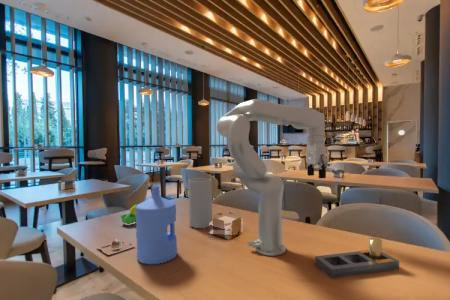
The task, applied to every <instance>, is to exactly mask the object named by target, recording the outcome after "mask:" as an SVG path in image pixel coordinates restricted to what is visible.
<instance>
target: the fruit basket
mask: <svg viewBox="0 0 450 300" xmlns="http://www.w3.org/2000/svg"><path fill="white" fill-rule="evenodd" d="M138 204H139V203H138ZM138 204H136V203H135V204H134V205H133V206H132V207H130V209H129V212H130V213H126V214H123V215H120V219H121V221H122V223H123V222H124V223H127V224H130V223H133V222H136V206H137V205H138Z"/></svg>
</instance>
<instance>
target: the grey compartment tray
mask: <svg viewBox="0 0 450 300" xmlns="http://www.w3.org/2000/svg"><path fill="white" fill-rule="evenodd" d="M314 265H315V266H316V267H317V268H318V269H320V271H322V272H324V274H326V275H327V276H328V277H329V278H330V279H332V280H333V279H339V278H347V277H353V276H362V275H368V274H369V275H370V274H375V273H382V272H388V271H389V272H390V271H391V272H392V271H397V270H400V260H399V259H396V258H395V257H393V256H391V255H389V254H387V253H385V252H383V251H382V260H375V261H374V260H373V259H371V258H369V249H364V250H358V251H350V252H341V253H334V254H332V253H331V254H324V255H317V256H314Z"/></svg>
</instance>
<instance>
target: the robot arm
mask: <svg viewBox="0 0 450 300" xmlns="http://www.w3.org/2000/svg"><path fill="white" fill-rule="evenodd" d="M250 122H262V123H268V124H271V125H276V126H290V125H291V126H292V127H293V129H297V130H305V129H306V130H307V131H306V133H307V137H306V138H307V142H306V149H305V162H306V168H307V176H308V177H309V176H312V177H313V176H315V166H318V168H319V169H318V179H326V178H327V167H328V163H329V159H328V158H327V156H326V155H327V154H326V152H327V150H326V144H325V143H326V142H325V141H326V140H325V134H326V132H325V128H326V127H325V124H326V123H325V114H324V113H322V112H319V111H318V110H317V109H313V108H309V107H306V106H305V107H304V106H299V105H287V104H280V103H277V102H271V101H267V100H264V99H259V98H254V99H249V100H245V101H243V102H240V103H239V104H238V105H237V106H235V107H234V108H233V109H231V110H229V111H228V112H227V113H225V114H224V115H223V116H221V117H220V119H219V120H218V121H217V124H216V130H217V132H218V134H219V135H220V136H221V137H223V138H228V140H227V148H228V152H229V155H230V156H231V158H232V159H233V162H232V170H233V173H234V174H235V176H236V178H238V179H239V181H240V182H241V183H242V184H243V185H244V187H246V188H247V190H249V191H250V192H251V193H254V194H255V195H256V194H257V195H259V196H261V197H260V200H259V202H258V206H257V207H258V237H256V239H255V240H248V241H247V246H248V247H252V248H254V250H255V251H256V252H257V253H259V254H260V255H262V256H263V255H264V256H269V257H270V256H271V257H273V256H274V257H276V256H281V255H283V254H285V253H286V251H287V247H286V245H284V244H283V223H282V222H283V221H282V220H283V218H282V217H283V216H282V215H283V214H282V205H283V202H282V201H283V195H284V189H285V185H284V181H283V180H282V178H281V177H280V176H279V175H276V174H273V173H268V172H267V165H266V163H265V161H264V160H263V159H262V158H261V157H260V155H259V154H258V153H257V152H256V151H255V149H254V147H252V145H251V144H250V141H249V135H250V130H251V123H250Z"/></svg>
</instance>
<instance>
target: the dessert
mask: <svg viewBox="0 0 450 300" xmlns="http://www.w3.org/2000/svg"><path fill="white" fill-rule="evenodd" d="M119 241H120V240H118V239H117V238H115V239H114V240H112V242H111V243H112V244H111V246H110V248H113V249H115V248H119V247H120V246H121V247H122V245H121V243H120V242H119Z"/></svg>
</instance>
